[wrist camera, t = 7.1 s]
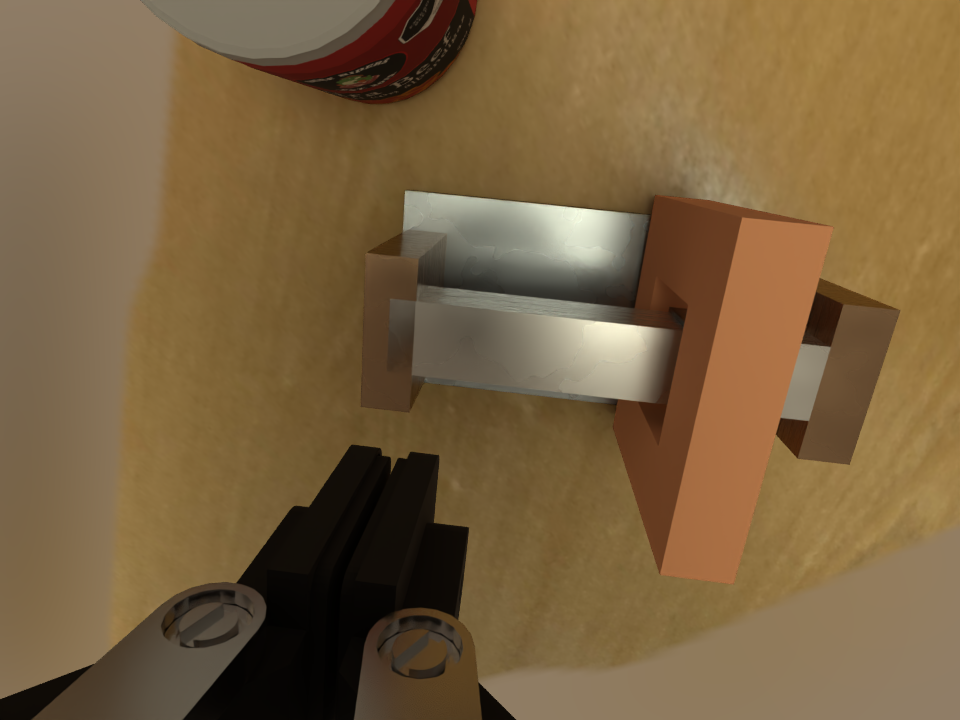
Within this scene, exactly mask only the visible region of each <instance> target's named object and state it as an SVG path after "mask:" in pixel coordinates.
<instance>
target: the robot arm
mask: <svg viewBox="0 0 960 720" xmlns="http://www.w3.org/2000/svg"><path fill="white" fill-rule="evenodd" d="M438 469H439V455H433V454H424V453H416V452H410V454H409V456H408V458H407V459H403V458H398V460H397V462H396V464H395V466H394V468H393V470H392V472H391V458H390V457H387V456H382V451H381V448H375V447H367V446H359V445H351V446H350V447H349V449H348V450H347V452H346V453H345V455H344V456H343V458H342V459H341V461H340V462H339V464H338V465H337V467H336V468H335V470H334V471H333V473H332V474H331V475H330V477H329V478H328V480H327V481H326V483H325V484H324V486H323V487H322V489H321V490H320V492H319V493H318V495H317V496H316V498H315V499H314V501H313V502H312V503H311V505H310V506H309V507H302V506H294V507H293V508H292V509H291V510H290V511H289V512H288V514H287V515H286V516H285V518H284V519H283V520H282V522H281V523H280V524H279V526H278V527H277V529H276V530H275V531H274V533H273V534H272V535H271V537H270V538H269V539H268V541H267V542H266V544H265V545H264V546H263V548H262V549H261V550H260V552H259V553H258V554H257V556H256V557H255V559H254V560H253V561H252V563H251V564H250V565H249V567H248V568H247V569H246V571H245V572H244V574H243V575H242V576H241V578H240V579H239V580H238V582H237V583H229V582H222V583H209V584H205V585H201V586H197V587H193V588H190V589H188V590H185V591H183V592H181V593H179V594H176V595H175V596H173V597H172V598H170V599H169V600H168V601H166V602H165V603H163V604H162V605H161V606H160V607H158V608H157V609H156V610H155V611H154V612H153V613H152V614H150V615H149V616H148V617H147V618H146V619H145V620H144V621H143V622H141V623H140V624H139V625H138V626H137V627H136V628H135V629H134V630H132V631H131V632H130V633H129V634H128V635H127V636H126V637H124V638H123V639H122V640H121V641H120V642H119V643H118V644H117V645H115V646H114V647H113V648H112V649H111V650H110V651H109V652H107V653H106V654H105V655H104V656H103V657H102V658H101V659H100V660H98V661H97V662H96V663H95V664H93V665H90V666H88V667H85V668H82V669H79V670H77V671H74V672H71V673H69V674H66V675H64V676H61V677H58V678H56V679H53V680H50V681H47V682H45V683H42V684H40V685H37V686H34V687H32V688H29V689H26V690H24V691H21V692H18V693H16V694H13V695H11V696H8V697H5V698H2V699H0V720H516V719H515V718H514V717H513V716H512V715H511V714H510V713H509V712H508V711H507V710H506V709H505V708H504V707H503V706H502V705H501V704H500V703H499V702H498V701H497V700H496V699H495V698H494V697H493V696H492V695H491V694H490V693H489V692H488V691H487V690H486V689H485V688H484V687H483V686H482V685H481V684H480V683H479V682H478V675H477V665H476V655H475V646H474V642H473V639H472V636H471V633H470V632H469V631H468V630H467V628H466V627H465V626H464V625H463V623H461V622H460V621H459V620H458V617H459V610H460V603H461V595H462V587H463V579H464V570H465V561H466V552H467V543H468V532H469V527H461V526H454V525H446V524H438V523H434V514H435V502H436V491H437V480H438ZM390 473H391V475H390Z"/></svg>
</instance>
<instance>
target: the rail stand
mask: <svg viewBox="0 0 960 720" xmlns="http://www.w3.org/2000/svg"><path fill="white" fill-rule="evenodd" d="M650 221H651V215H650V214H640V213H630V212H620V211H610V210H601V209H591V208H581V207H571V206H561V205H552V204H542V203H532V202H522V201H512V200H503V199H493V198H483V197H473V196H463V195H453V194H444V193H434V192H424V191H414V190H405V203H404V223H403V233H401V234H399V235H397V236H396V237H394V238H392V239H390V240H388V241H387V242H385V243H383V244H381V245H379V246H378V247H376V248H374V249H372V250H370V251H369V252H367V253H366V258H365V290H364V322H363V353H362V385H361V407H367V408H375V409H384V410H392V411H401V412H410V410H411V408H412V406H413V404H414V402H415V400H416V398H417V395H418V393H419V391H420V389H421V387H422V385H423V383H424V382H425V383H434V384H442V385H451V386H460V387H468V388H477V389H485V390H494V391H503V392H511V393H520V394H528V395H537V396H546V397H554V398H563V399H572V400H580V401H589V402H597V403H606V404H615V405H617V402H618V399H623V400H631V401H640V402H649V403H657V404H666V405H667V403H668V399H669V394H670V389H671V385H672V380H673V375H674V370H675V366H676V361H677V356H678V352H679V347H680V342H681V337H682V333H683V328H684V323H685V318H686V314H687V309H685V308H676V307H669V311H668V312H664V311H655V310H645V309H636V308H635V303H636V298H637V292H638V287H639V281H640V276H641V270H642V265H643V259H644V254H645V248H646V243H647V237H648V232H649V226H650ZM899 313H900V310H898V309H896V308H893V307H891V306H888V305H886V304H883V303H881V302H878V301H876V300H873V299H871V298H868V297H866V296H863V295H861V294H858V293H856V292H853V291H851V290H848V289H846V288H843V287H841V286H838V285H836V284H833V283H831V282H828V281H826V280H823V279H821V278H819V282H818V286H817V289H816V293H815V296H814V300H813V303H812V307H811V311H810V314H809V318H808V321H807V325H806V328H805V332H804V336H803V339H802V343H801V346H800V350H799V353H798V357H797V360H796V364H795V368H794V371H793V375H792V378H791V382H790V385H789V389H788V393H787V396H786V400H785V403H784V407H783V410H782V414H781V418H780V421H779V425H778V428H777V432H776V435H777V436H778V437H779V438H780V440H781V441H782V442H783V443H784V444H785V445H786V446H787V447H788V448H789V449H790V451H791V452H792V453H793V454H794V455H795V456H796V457H797V458H798V459H806V460H814V461H823V462H831V463H840V464H848V465H850V462H851V458H852V455H853V452H854V449H855V446H856V443H857V440H858V437H859V434H860V431H861V428H862V425H863V422H864V419H865V416H866V413H867V410H868V407H869V404H870V401H871V398H872V395H873V392H874V389H875V386H876V383H877V380H878V377H879V374H880V371H881V368H882V365H883V362H884V359H885V356H886V353H887V350H888V347H889V343H890V340H891V337H892V334H893V331H894V328H895V325H896V322H897V319H898V316H899Z"/></svg>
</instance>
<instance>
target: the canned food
mask: <svg viewBox="0 0 960 720" xmlns="http://www.w3.org/2000/svg"><path fill="white" fill-rule="evenodd" d="M141 1H142V2H143V3H144V4H145V5H146V6H147V7H148V8H149V9H150V10H151V11H152V12H153V13H154V14H155V15H156V16H157V17H158V18H159V19H161V20H163V21H164V22H165V23H167V24H168V25H169V26H171V27H172V28H174V29H175V30H177V31H178V32H179V33H181V34H182V35H184V36H185V37H187V38H188V39H191V40H192V41H194V42H195V43H197V44H198V45H199V46H202V47H204V48H206V49H208V50H211V51H213V52H215V53H218V54H220V55H222V56H224V57H227V58H229V59H231V60H234V61H237V62H240V63H242V64H245V65H247V66H249V67H252V68H254V69H257V70H260V71H264V72H267V73H270V74H273V75H276V76H279V77H282V78H285V79H288V80H291V81H294V82H297V83H300V84H303V85H306V86H309V87H312V88H315V89H318V90H321V91H324V92H327V93H330V94H333V95H337V96H340V97H343V98H346V99H349V100H353V101H358V102H363V103H368V104H383V103H392V102H396V101H400V100H404V99H408V98H410V97H412V96H414V95H416V94H417V93H419V92H421V91H423V90H425V89H427V88H428V87H429V86H430V85H432V84H433V83H434V82H435V81H436V80H438V79H439V78H440V77H441V76H442V75H443V74H444V73H445V72H446V70H447V69H448V68H449V67H450V66H451V64H452V63H453V62H454V61H455V59H456V58H457V56H458V54H459V52H460V51H461V49H462V47H463V45H464V43H465V41H466V40H467V37H468V34H469V31H470V28H471V25H472V22H473V19H474V16H475V11H476V4H477V0H141Z"/></svg>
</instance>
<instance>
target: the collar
mask: <svg viewBox="0 0 960 720" xmlns="http://www.w3.org/2000/svg"><path fill="white" fill-rule="evenodd" d="M833 229H834V227H832V226H828V225H823V224H818V223H814V222H809V221H804V220H799V219H795V218H790V217H785V216H781V215H776V214H771V213H767V212H762V211H757V210H752V209H748V208H743V207H738V206H734V205H729V204H724V203H719V202H715V201H710V200H701V199H691V198H681V197H671V196H661V195H655V199H654V204H653V210H652V215H651V221H650V226H649V232H648V237H647V243H646V248H645V254H644V259H643V265H642V270H641V276H640V281H639V287H638V292H637V298H636V303H635V308H636V309H645V310H655V311H664V312H668V311H669V307H676V308H685V309H687V314H686V318H685V323H684V328H683V333H682V337H681V342H680V347H679V352H678V356H677V361H676V366H675V370H674V375H673V380H672V385H671V389H670V394H669V399H668V403H667V405H666V404H657V403H649V402H640V401H631V400H623V399H618V402H617V408H616V413H615V419H614V424H613V429H614V432H615V435H616V438H617V441H618V445H619V448H620V451H621V454H622V457H623V460H624V463H625V467H626V470H627V473H628V476H629V479H630V482H631V485H632V489H633V492H634V495H635V498H636V501H637V504H638V507H639V511H640V514H641V517H642V520H643V523H644V526H645V530H646V533H647V536H648V539H649V542H650V545H651V548H652V552H653V555H654V558H655V561H656V564H657V567H658V570H659V574H660V575H665V576H673V577H681V578H688V579H696V580H704V581H712V582H720V583H727V584H734V582H735V578H736V574H737V571H738V567H739V564H740V560H741V557H742V553H743V550H744V546H745V542H746V539H747V535H748V532H749V528H750V525H751V521H752V517H753V514H754V510H755V507H756V503H757V500H758V496H759V492H760V489H761V485H762V482H763V478H764V475H765V471H766V467H767V464H768V460H769V457H770V453H771V450H772V446H773V443H774V439H775V435H776V432H777V428H778V425H779V421H780V418H781V414H782V410H783V407H784V403H785V400H786V396H787V393H788V389H789V385H790V382H791V378H792V375H793V371H794V368H795V364H796V360H797V357H798V353H799V350H800V346H801V343H802V339H803V336H804V332H805V328H806V325H807V321H808V318H809V314H810V311H811V307H812V303H813V300H814V296H815V293H816V289H817V286H818V282H819V278H820V275H821V271H822V268H823V264H824V261H825V257H826V253H827V250H828V246H829V243H830V239H831V236H832V232H833Z"/></svg>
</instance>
